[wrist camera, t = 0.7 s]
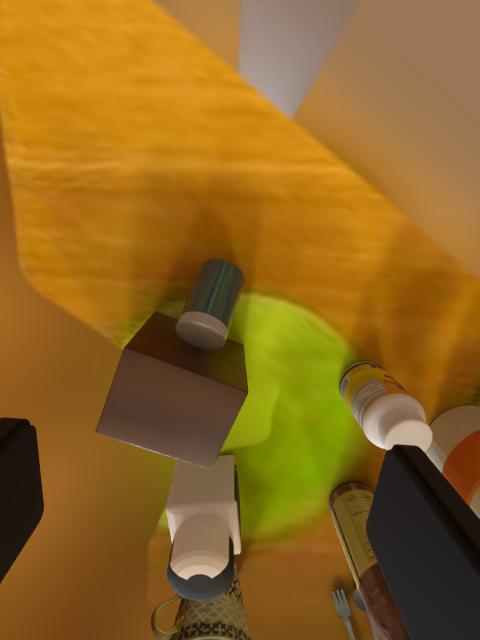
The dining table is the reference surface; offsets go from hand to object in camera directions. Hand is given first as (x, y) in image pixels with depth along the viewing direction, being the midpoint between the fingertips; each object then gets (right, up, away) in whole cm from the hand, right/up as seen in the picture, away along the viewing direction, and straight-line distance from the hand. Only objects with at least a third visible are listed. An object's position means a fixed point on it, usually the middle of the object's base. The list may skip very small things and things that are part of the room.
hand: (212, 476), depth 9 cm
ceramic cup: (-4, -30, +35) cm, 46 cm away
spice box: (-5, 0, +26) cm, 27 cm away
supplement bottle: (+14, -3, +28) cm, 31 cm away
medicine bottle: (-3, -15, +31) cm, 35 cm away
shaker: (-2, +6, +20) cm, 21 cm away
